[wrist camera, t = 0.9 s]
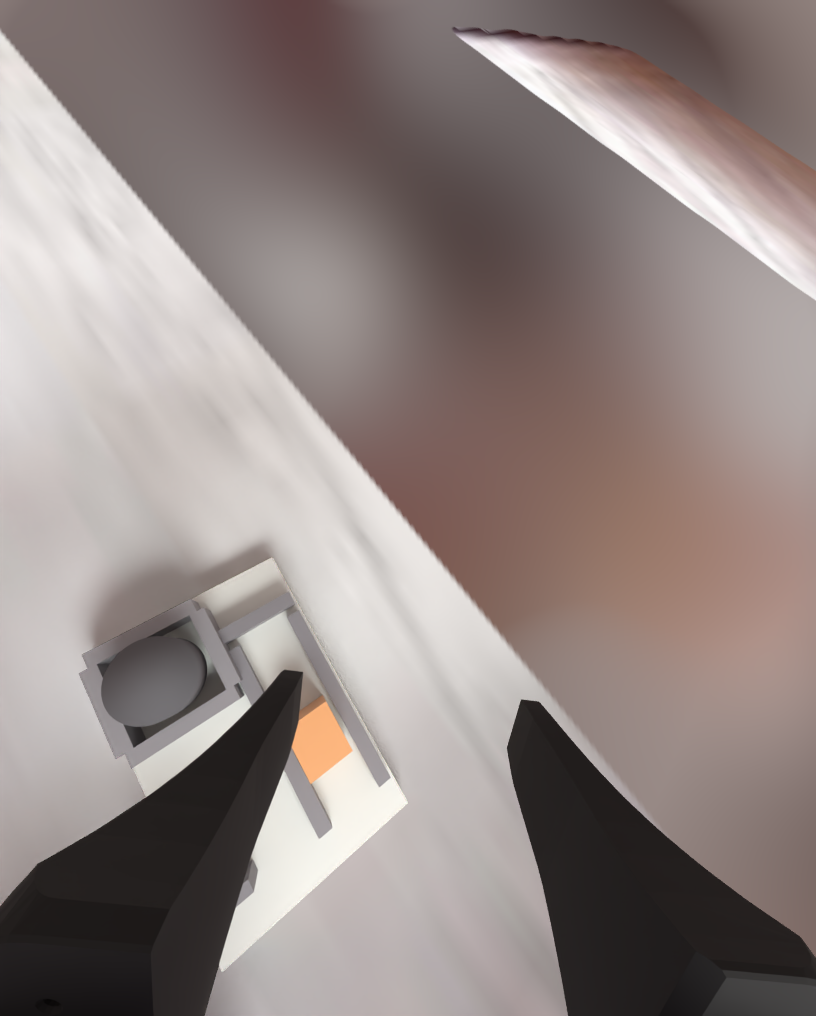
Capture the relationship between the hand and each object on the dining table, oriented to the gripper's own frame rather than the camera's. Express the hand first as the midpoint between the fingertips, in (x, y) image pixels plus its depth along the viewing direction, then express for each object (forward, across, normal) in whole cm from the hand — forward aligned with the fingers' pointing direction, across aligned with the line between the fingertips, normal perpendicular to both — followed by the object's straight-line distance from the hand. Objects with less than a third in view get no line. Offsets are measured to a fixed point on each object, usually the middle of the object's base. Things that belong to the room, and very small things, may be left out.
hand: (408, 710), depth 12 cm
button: (+7, +12, +7) cm, 16 cm away
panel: (+8, +8, +11) cm, 16 cm away
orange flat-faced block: (+8, +4, +10) cm, 13 cm away
